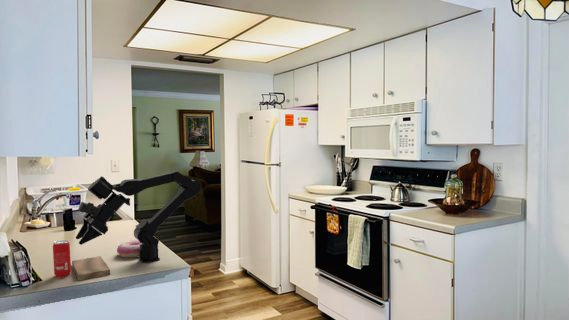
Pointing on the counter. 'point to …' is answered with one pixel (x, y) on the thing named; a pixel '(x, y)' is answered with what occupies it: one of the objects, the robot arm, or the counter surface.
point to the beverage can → (61, 259)
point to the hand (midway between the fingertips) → (78, 241)
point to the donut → (129, 249)
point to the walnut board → (90, 268)
